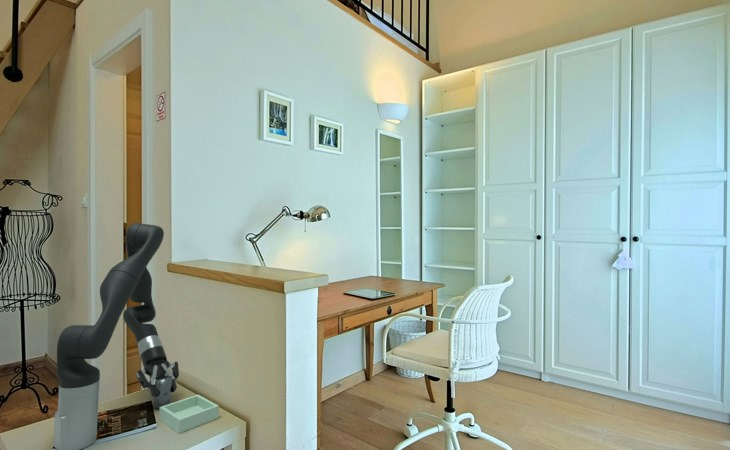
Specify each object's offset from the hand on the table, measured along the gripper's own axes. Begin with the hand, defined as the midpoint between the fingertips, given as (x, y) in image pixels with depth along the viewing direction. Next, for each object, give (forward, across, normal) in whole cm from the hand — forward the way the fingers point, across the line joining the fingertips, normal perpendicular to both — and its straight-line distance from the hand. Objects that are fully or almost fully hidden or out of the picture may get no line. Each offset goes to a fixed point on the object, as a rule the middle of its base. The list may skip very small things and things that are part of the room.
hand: (165, 393), depth 130 cm
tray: (+13, +2, -6) cm, 14 cm away
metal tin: (+2, 0, +4) cm, 5 cm away
